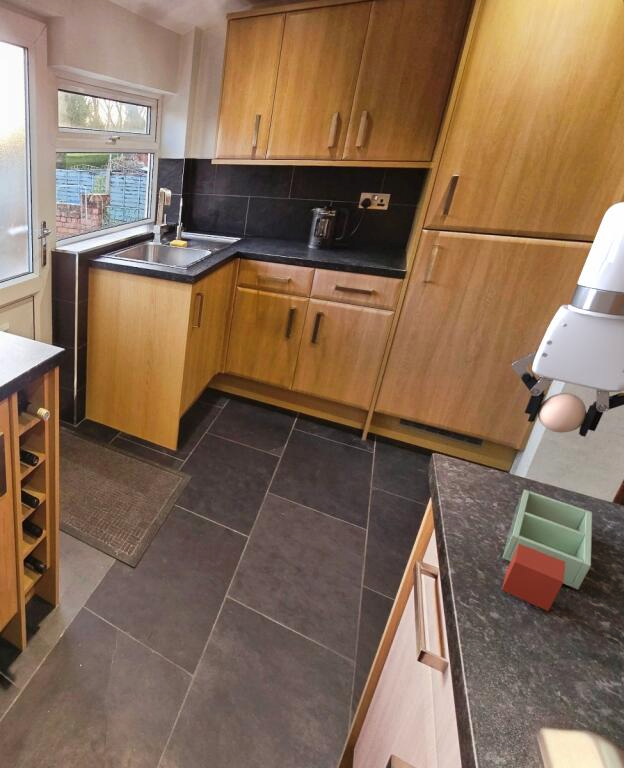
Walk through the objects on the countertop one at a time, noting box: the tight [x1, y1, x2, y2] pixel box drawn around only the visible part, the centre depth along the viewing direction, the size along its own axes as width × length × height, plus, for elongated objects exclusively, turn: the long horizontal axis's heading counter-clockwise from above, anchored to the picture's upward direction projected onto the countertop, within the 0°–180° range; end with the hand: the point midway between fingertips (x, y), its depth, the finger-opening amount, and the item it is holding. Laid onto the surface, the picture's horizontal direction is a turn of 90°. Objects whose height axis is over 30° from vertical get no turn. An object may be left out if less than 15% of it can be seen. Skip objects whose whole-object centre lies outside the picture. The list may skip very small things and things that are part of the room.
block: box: [501, 544, 565, 612], centre depth 61 cm, size 5×5×5 cm
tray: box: [502, 489, 593, 590], centre depth 69 cm, size 8×15×4 cm, turn 137°
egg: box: [537, 392, 587, 434], centre depth 71 cm, size 5×5×6 cm
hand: (556, 424), depth 72 cm, fingers closed on egg, 5 cm apart
